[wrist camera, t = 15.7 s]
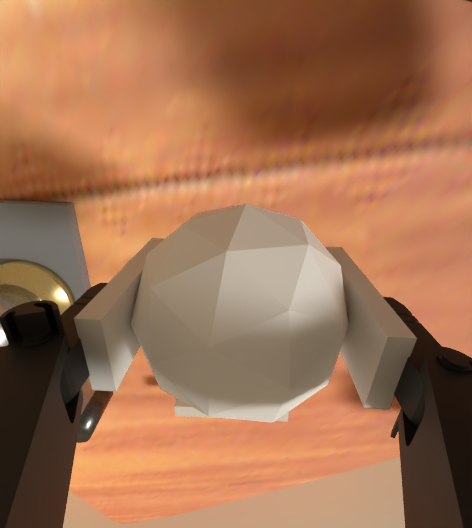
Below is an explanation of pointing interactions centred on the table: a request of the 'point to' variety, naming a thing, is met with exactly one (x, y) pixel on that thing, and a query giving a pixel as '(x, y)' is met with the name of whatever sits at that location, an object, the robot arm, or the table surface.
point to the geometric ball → (241, 313)
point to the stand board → (44, 239)
